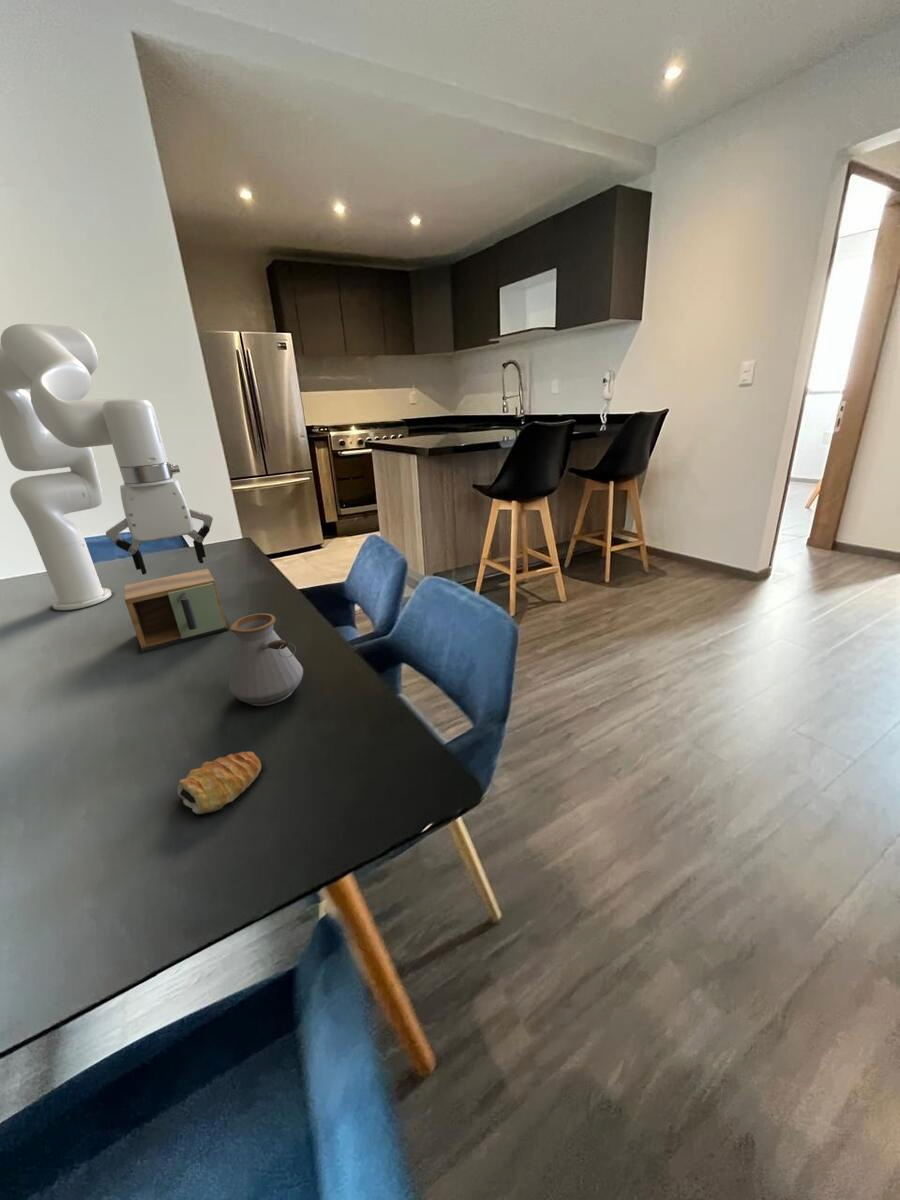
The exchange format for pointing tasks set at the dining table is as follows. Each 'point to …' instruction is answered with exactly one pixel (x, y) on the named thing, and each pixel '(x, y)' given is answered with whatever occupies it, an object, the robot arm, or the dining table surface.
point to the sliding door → (196, 610)
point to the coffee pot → (262, 663)
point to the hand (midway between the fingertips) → (173, 566)
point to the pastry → (218, 781)
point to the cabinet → (163, 608)
